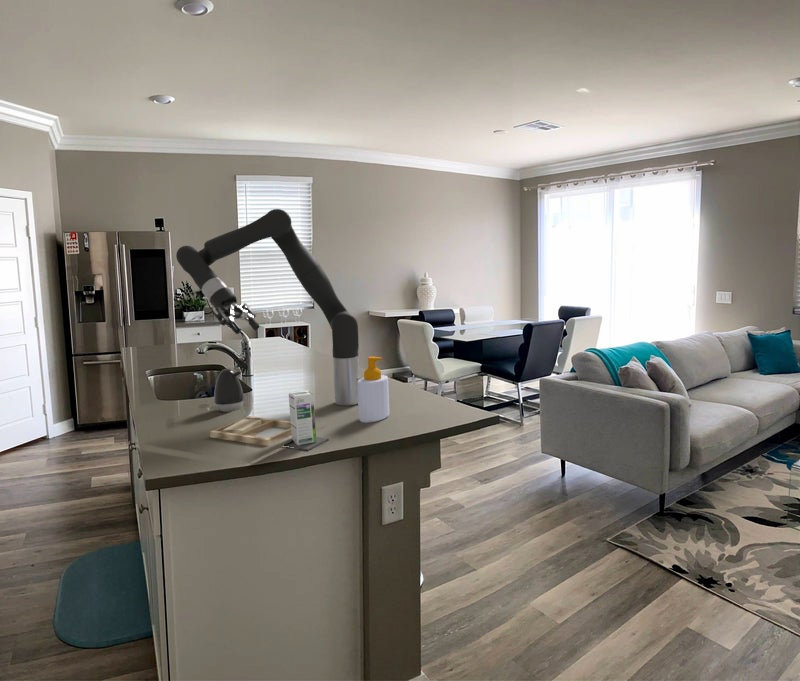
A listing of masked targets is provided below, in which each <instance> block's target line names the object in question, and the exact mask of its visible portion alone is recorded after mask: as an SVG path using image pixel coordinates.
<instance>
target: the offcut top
mask: <svg viewBox="0 0 800 681" xmlns="http://www.w3.org/2000/svg"><path fill="white" fill-rule="evenodd" d="M242 419H243V420H241V419H240V420H241V421H239V422H237V423H235V424H233V425H231V426H229V427H227V428H225V429H224V432H228V433H235V434H240V433H242V432H244V431H247V430H249V429H252V428H254V427H256V426H259V425H261V424H262V422H261V420H251V419H244V418H242Z"/></svg>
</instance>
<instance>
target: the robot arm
mask: <svg viewBox="0 0 800 681" xmlns="http://www.w3.org/2000/svg"><path fill="white" fill-rule="evenodd" d="M268 238H269V239H270V238H271V239H272V240H273V241H274V243H276V246H278V248H279V249H280V250H281V252H282V253H283V255H284V256H285V258H286V261H287V262H288V265H289V267H290V268H291V269H292V270H291V271H292V272H293V273H294V275H295V277H296V278H297V280H298V281H299V283H300V284H301V286H302V287H303V289H304V290H305V292H306V293H307V294H308V295H309V296H310V297H311V298H312V300H313V301H314V302H315V303H316V304H317V305H318V308H320V309H321V311H322V313H323V315H324V316H325V318H326V321H327V323H328V325H329V326H330V329H331V335H332V336H331V337H332V349H331V350H332V365H333V366H332V367H333V384H334V385H333V386H334V388H333V389H334V403H335V405H338V406H355V405H358V388H357V382H358V380H360V379H361V378H360V365H359V364H360V362H359V347H360V346H359V324H358V320H357V318H356V317H355V316H354V315H352V314H351V312H350V311H349V310H348V309H347V308H346V307H345V306H344V304H343V303H342V302H341V301H340V299H339V298H338V296H337V294H336V292H335V290H334V288H333V285H332V283H331V281H330V279H329V277H328V275H327V273H326V272H325V271H324V269H323V268H322V266H321V265H320V263H319V261H318V260H317V259H316V258H315V256H314V255H313V254H312V253H311V252H310V251H309V250H308V248H307V247H305V245H304V244H303V243H302V242H301V240H300V238H299V237H298V235H297V233H296V231H295V229H294V228H293V226H292V219H291V216H290V214H289V213H288V212H287V211H285V210H283V209H280V208H273V209H271V210H269V211H268V212H267V213H266V214H264V215H263V216H261V217H259V218H258V219H256V220H254V221H252V222H250V223H248V224H246V225H243V226H241V227H239V228H236V229H233V230H230V231H228V232H225V233H223V234H221V235H218V236H215V237H213V238H210V239H209V240H206V241H205V242H204V244H203V248H202V249H201V250H199V251H197V249H196V248H195V247H194V246H190V245H183V246H180V247H179V248H177V251H176V255H175V256H176V258H175V259H176V261H177V262H178V264H179V265H180V267H181V268H182V270H183V271H185V272H186V273H187V274H189V276H190V277H191V279H192V280H193V282H194V283H195V284H196V286H197V287H198V288H199V289H200V291H201V292H202V294H203V295H204V297H205V299H206V300H208V302H209V303H210V304H211V306H212V307H213V308H214V310H213V312H212V314H213V315H214V316H215V318H216V320H217V321H218V322H219V323H220V325H222V326H225V325H226V326H227V327H230V329H231V330H232V331H233V333H235V334H236V335H239V334H240V333H241V332H242V328H241V327H240V326H239V325H238V323H237V322H236V321H235V319H236V320H241V321H244V322H247V323H248V325H250V327H251V329H252V330H253V331H258V330H259V328H260V324H259V323H258V322H257V321H256V319H255V318H256V317H257V313H256V312H254V311H253V309H252V308H251V307H250V306H249V305H248V304H247V303H245V302H244V303H243V304H241V305H240V303H238V300H237V297H236V295H235V294H234V293H233V291H231V289H230V288H229V287H228V285H226V283H225V282H224V281H223V280H221V278H220V277H219V276H218V275H217V274H216V273H215V272H214V270H213V269H212V268H211V267H210V266H211V265H213V264H214V263H215V262H217V261H218V260H220V259H223V258H226V257H228V256H230V255H233V254H235V253H237V252H238V251H242V250H243V249H244V248H246V247H248V246H250V245H253V244H254V243H257V242H260V241H262V240H265V239H268Z"/></svg>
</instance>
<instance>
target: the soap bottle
mask: <svg viewBox="0 0 800 681" xmlns="http://www.w3.org/2000/svg"><path fill="white" fill-rule="evenodd" d="M379 361H383V357H379V356H368V357H367V366H368V367H367V368H366V369H365V370H364V372H363V377H362V378H360V380H358V382H357V388H358V404H357V405H358V420H359V421H360V423H367V424H368V423H369V424H370V423H374V422H379V421H382V420H384V419H386V418H388V417H389V415H390V393H389V392H390V391H389V377H388V376H387V375H384V374H382V370H381V369H380V368H378V367H377V362H379Z"/></svg>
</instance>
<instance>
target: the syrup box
mask: <svg viewBox="0 0 800 681" xmlns="http://www.w3.org/2000/svg"><path fill="white" fill-rule="evenodd" d="M314 397H315V396H314V393H313V392H312V391H311V390H308V389H307V390H302V391H301V390H300V391H294V392H289V393H288V404H289V415H290V416H289V417H290V418H289V419H290V421H291V433H292V435H291V439H292V441H293V442H294V443H296V444H297V445H302V444H308V443H313V442H316V437H317V431H316V427H317V426H316V415H315V414H316V413H315V401H314V400H315V398H314Z"/></svg>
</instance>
